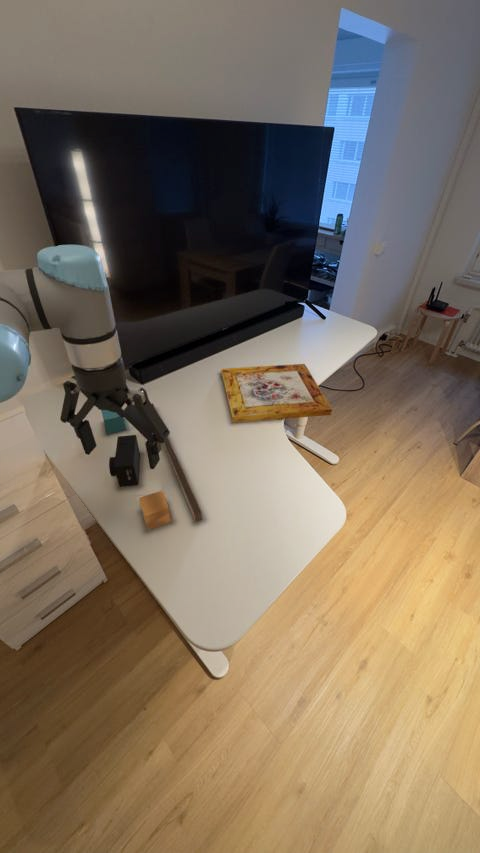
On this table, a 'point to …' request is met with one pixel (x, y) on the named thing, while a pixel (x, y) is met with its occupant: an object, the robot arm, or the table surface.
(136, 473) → the digital camera
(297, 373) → the picture frame
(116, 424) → the teal block
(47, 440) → the table surface
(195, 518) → the rail
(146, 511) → the oak block
